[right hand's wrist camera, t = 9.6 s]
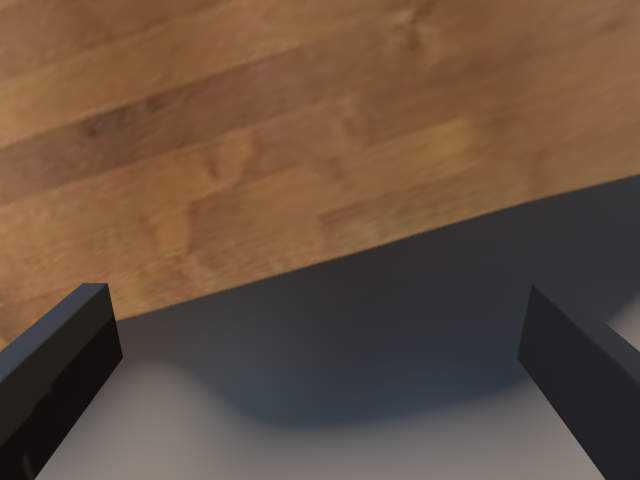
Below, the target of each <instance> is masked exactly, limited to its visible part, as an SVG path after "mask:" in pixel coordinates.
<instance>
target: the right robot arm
mask: <svg viewBox="0 0 640 480" xmlns="http://www.w3.org/2000/svg"><path fill="white" fill-rule="evenodd" d="M122 358H123V355H122V351H121V346H120V341H119V336H118V331H117V326H116V321H115V317H114V312H113V307H112V302H111V297H110V292H109V288H108V283H83V284H81V285H80V286H79V287H78V288H77V289H75V290H74V291H73V292H72V293H71V294H69V295H68V296H67V297H66V298H65V299H63V300H62V301H61V302H60V303H59V304H57V305H56V306H55V307H54V308H53V309H51V310H50V311H49V312H48V313H47V314H45V315H44V316H43V317H42V318H41V319H39V320H38V321H37V322H36V323H34V324H33V325H32V326H31V327H30V328H28V329H27V330H26V331H25V332H24V333H22V334H21V335H20V336H19V337H18V338H16V339H15V340H14V341H13V342H12V343H10V344H9V345H8V346H7V347H6V348H4V349H3V350H2V351H1V352H0V480H34V479H35V478H36V477H37V475H38V474H39V473H40V471H41V470H42V468H43V467H44V466H45V464H46V463H47V462H48V460H49V459H50V457H51V456H52V455H53V453H54V452H55V451H56V449H57V448H58V446H59V445H60V444H61V442H62V441H63V440H64V438H65V437H66V435H67V434H68V433H69V431H70V430H71V428H72V427H73V426H74V424H75V423H76V422H77V420H78V419H79V417H80V416H81V415H82V413H83V412H84V411H85V409H86V408H87V406H88V405H89V404H90V402H91V401H92V400H93V398H94V397H95V395H96V394H97V393H98V391H99V390H100V389H101V387H102V386H103V384H104V383H105V382H106V380H107V379H108V378H109V376H110V375H111V373H112V372H113V371H114V369H115V368H116V366H117V365H118V364H119V362H120V361H121V360H122ZM517 358H518V360H519V361H520V362H521V364H522V365H523V366H524V368H525V369H526V371H527V372H528V373H529V375H530V376H531V378H532V379H533V380H534V382H535V383H536V384H537V386H538V387H539V389H540V390H541V391H542V393H543V394H544V395H545V397H546V398H547V400H548V401H549V402H550V404H551V405H552V406H553V408H554V409H555V411H556V412H557V413H558V415H559V416H560V417H561V419H562V420H563V422H564V423H565V424H566V426H567V427H568V428H569V430H570V431H571V433H572V434H573V435H574V437H575V438H576V440H577V441H578V442H579V444H580V445H581V446H582V448H583V449H584V450H585V452H586V453H587V455H588V456H589V457H590V459H591V460H592V462H593V463H594V464H595V466H596V467H597V468H598V470H599V471H600V473H601V474H602V475H603V477H604V478H605V479H606V480H640V352H639V351H638V350H637V349H636V348H634V347H633V346H632V345H631V344H629V343H628V342H627V341H626V340H625V339H624V338H622V337H621V336H620V335H619V334H618V333H616V332H615V331H614V330H613V329H611V328H610V327H609V326H608V325H607V324H605V323H604V322H603V321H602V320H601V319H599V318H598V317H597V316H596V315H595V314H593V313H592V312H591V311H590V310H589V309H587V308H586V307H585V306H584V305H583V304H581V303H580V302H579V301H578V300H577V299H575V298H574V297H573V296H572V295H571V294H569V293H568V292H567V291H566V290H565V289H563V288H562V287H561V286H560V285H559V284H557V283H533V284H532V288H531V292H530V297H529V302H528V307H527V312H526V317H525V321H524V326H523V331H522V336H521V341H520V346H519V350H518V355H517Z"/></svg>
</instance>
